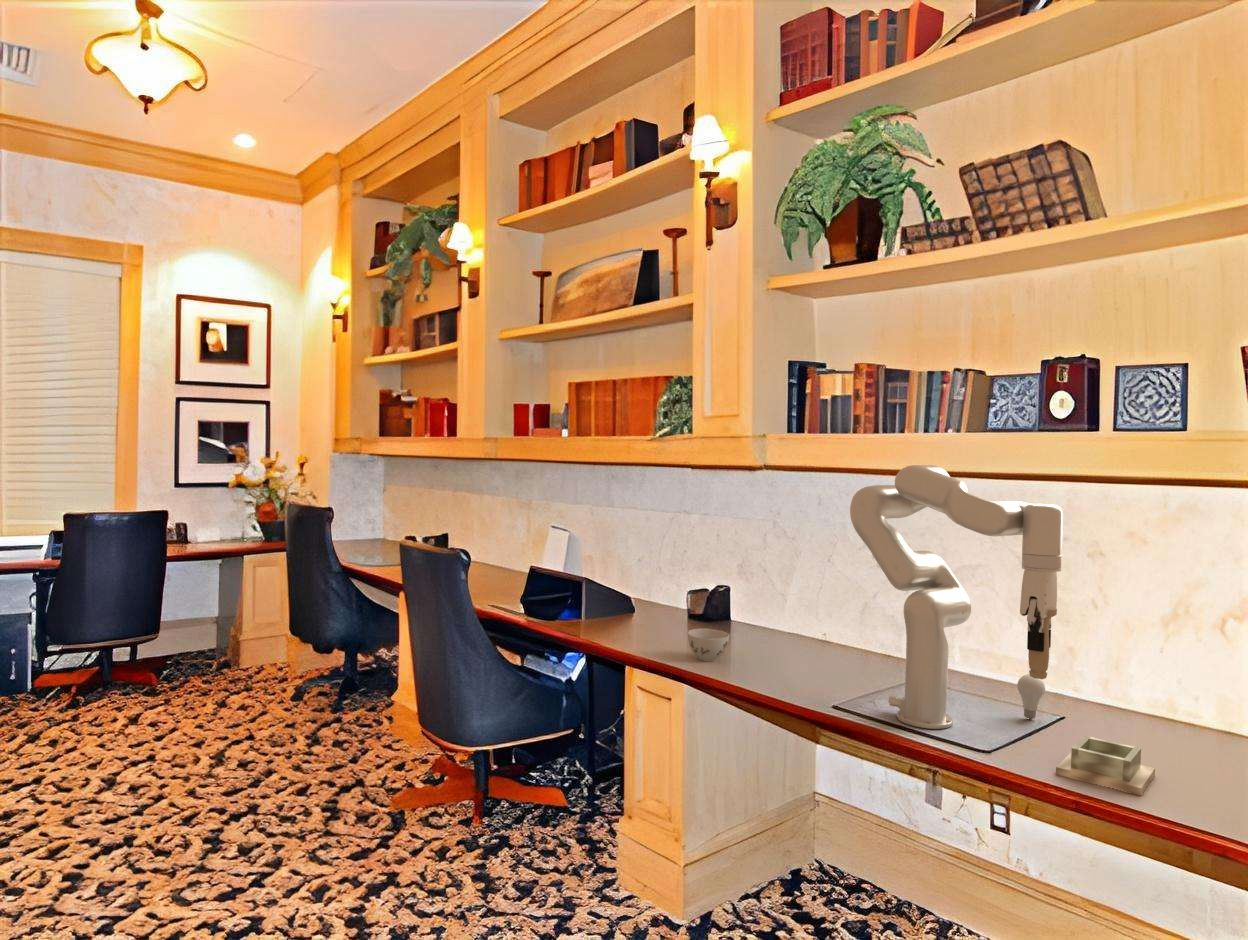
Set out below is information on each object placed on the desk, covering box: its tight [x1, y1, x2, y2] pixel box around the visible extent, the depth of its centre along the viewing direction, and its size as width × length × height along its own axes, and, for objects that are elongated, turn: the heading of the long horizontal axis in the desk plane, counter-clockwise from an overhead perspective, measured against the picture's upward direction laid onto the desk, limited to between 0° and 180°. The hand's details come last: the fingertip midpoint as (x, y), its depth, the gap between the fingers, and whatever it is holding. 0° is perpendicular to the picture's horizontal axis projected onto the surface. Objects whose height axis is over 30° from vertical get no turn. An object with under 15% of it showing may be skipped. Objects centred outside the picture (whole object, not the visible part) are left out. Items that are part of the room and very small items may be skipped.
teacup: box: [687, 628, 730, 662], centre depth 260 cm, size 15×12×8 cm
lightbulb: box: [1016, 673, 1046, 720], centre depth 209 cm, size 6×6×11 cm
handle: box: [1026, 607, 1058, 680], centre depth 183 cm, size 5×6×15 cm
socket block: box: [1055, 735, 1156, 796], centre depth 175 cm, size 15×14×6 cm
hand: (1038, 648), depth 183 cm, fingers closed on handle, 3 cm apart
